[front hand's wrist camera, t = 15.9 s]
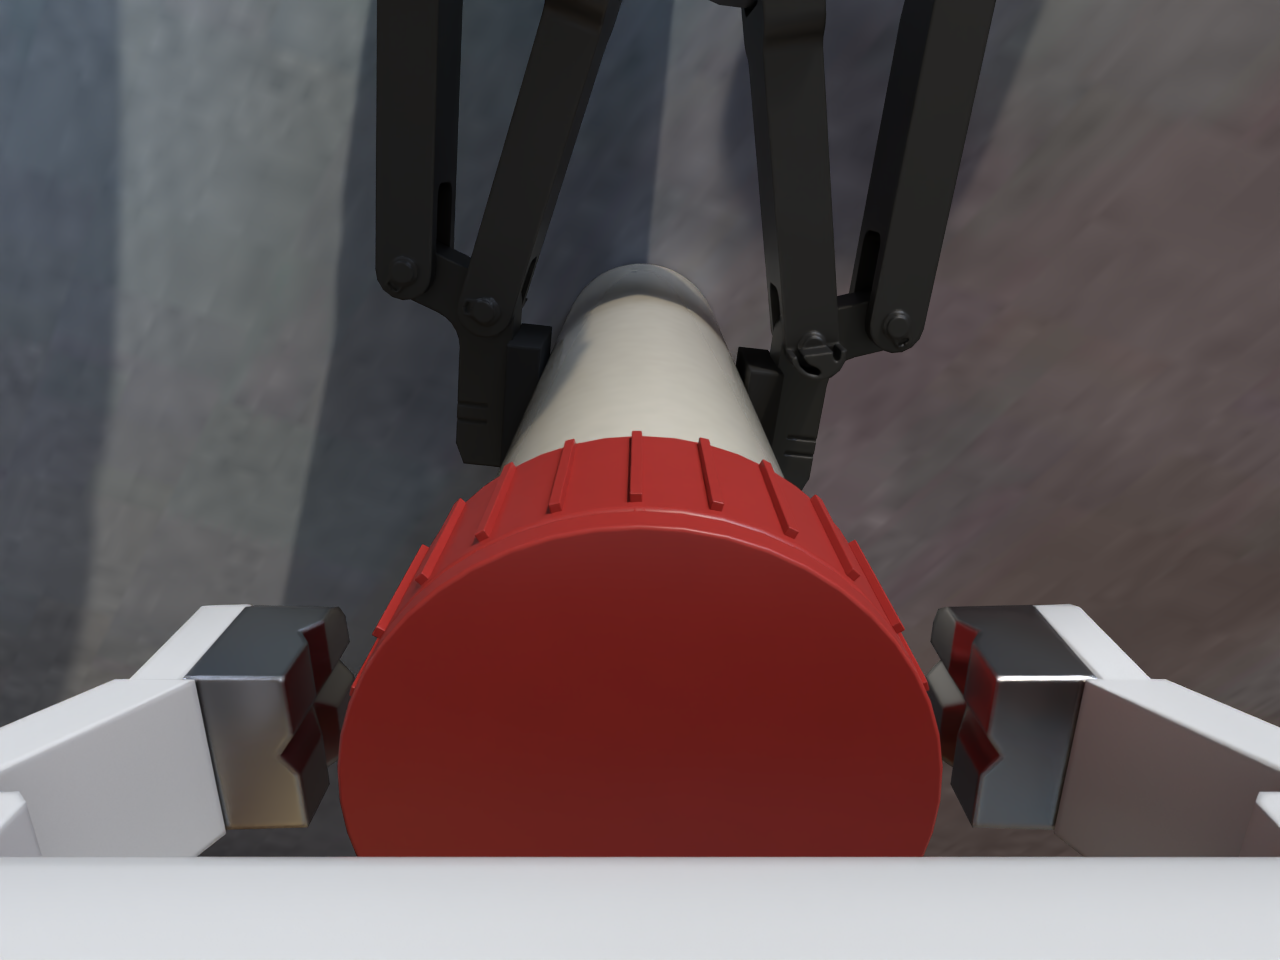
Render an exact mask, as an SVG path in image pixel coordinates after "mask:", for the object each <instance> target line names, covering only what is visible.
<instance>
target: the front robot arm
mask: <svg viewBox="0 0 1280 960" xmlns="http://www.w3.org/2000/svg"><path fill="white" fill-rule="evenodd" d="M349 642H350V640H349V634H348V629H347V623H346V617H345V615H344V613H343V612H342V611H341V609H340V608H339V607H324V606H269V605H254V606H251V605H249V604H237V605H210V606H201V607H200V608H199V609H198V610H197V611H196V612H195V613H194V614H193V615H192V617H191V618H190V619H189V620H188V621H187V622H186V623H185V624H184V625H183V626H182V627H181V628H180V629H179V630H178V631H177V632H176V633H175V634H174V635H173V636H172V637H171V638H170V639H169V640H168V641H167V642H166V643H165V644H164V645H163V646H162V647H161V648H160V649H159V650H158V651H157V652H156V653H155V654H154V655H153V656H152V657H151V658H150V659H149V660H148V661H147V662H146V663H145V664H144V665H143V666H142V667H141V668H140V669H139V670H138V671H137V672H136V673H135V674H134V675H133V676H132V677H131V678H130V679H114V680H112V681H109V682H107V683H105V684H102V685H100V686H98V687H95V688H93V689H90V690H88V691H86V692H83V693H81V694H79V695H76V696H74V697H71V698H69V699H67V700H64V701H62V702H60V703H57V704H55V705H52V706H50V707H48V708H45V709H43V710H41V711H38V712H36V713H34V714H31V715H29V716H26V717H24V718H22V719H19V720H17V721H15V722H12V723H10V724H7V725H5V726H3V727H0V960H1280V727H1277V726H1275V725H1272V724H1270V723H1268V722H1265V721H1263V720H1261V719H1258V718H1256V717H1254V716H1251V715H1249V714H1246V713H1244V712H1242V711H1239V710H1237V709H1235V708H1232V707H1230V706H1227V705H1225V704H1223V703H1220V702H1218V701H1216V700H1213V699H1211V698H1209V697H1206V696H1204V695H1201V694H1199V693H1197V692H1194V691H1192V690H1190V689H1187V688H1185V687H1182V686H1180V685H1178V684H1175V683H1173V682H1171V681H1168V680H1166V679H1150V678H1149V677H1148V676H1147V675H1146V674H1145V673H1144V672H1143V671H1142V670H1141V669H1140V668H1139V667H1138V666H1137V665H1136V664H1135V663H1134V662H1133V661H1132V660H1131V659H1130V658H1129V657H1128V656H1127V655H1126V654H1125V653H1124V652H1123V651H1122V650H1121V649H1120V648H1119V647H1118V646H1117V644H1116V643H1115V642H1114V641H1113V640H1112V639H1111V638H1110V637H1109V636H1108V635H1107V634H1106V633H1105V632H1104V631H1103V630H1102V629H1101V628H1100V627H1099V626H1098V625H1097V624H1096V623H1095V622H1094V621H1093V620H1092V619H1091V618H1090V617H1089V616H1088V615H1087V614H1086V613H1085V612H1084V611H1083V610H1082V609H1081V608H1080V607H1077V606H1074V605H1071V604H1059V605H1037V606H1033V605H1007V606H965V607H945V608H940V609H938V611H937V614H936V616H935V619H934V622H933V627H932V634H931V641H930V642H931V644H932V645H933V647H934V649H935V650H936V652H937V654H938V656H939V657H940V659H941V660H940V661H939V662H938V663H937V664H936V665H935V666H934V667H933V668H932V669H931V670H930V672H929V673H928V674H927V675H926V680H927V682H928V686H929V691H926V692H927V694H928V696H929V699H930V701H931V704H932V708H933V712H934V715H935V719H936V723H937V727H938V731H939V734H940V745H941V756H942V760H943V761H944V762H946V763H947V764H949V765H950V766H952V767H953V770H952V777H951V786H952V788H953V790H954V792H955V794H956V796H957V798H958V800H959V802H960V804H961V806H962V808H963V810H964V812H965V814H966V816H967V818H968V820H969V822H970V824H971V826H972V827H976V828H1013V829H1050V830H1054V834H1055V835H1057V836H1058V837H1059V838H1061V839H1062V840H1063V841H1064V842H1066V843H1067V844H1068V845H1069V846H1071V847H1072V848H1073V849H1075V850H1076V851H1077V852H1078V853H1080V854H1081V855H1082V856H1083V857H197V856H198V855H200V854H201V853H202V852H203V851H205V850H206V849H207V848H209V847H210V846H211V845H212V844H214V843H215V842H216V841H217V840H219V839H220V838H221V837H223V836H224V835H225V834H226V830H230V829H265V828H301V827H308V826H309V824H310V822H311V820H312V818H313V816H314V814H315V812H316V810H317V808H318V806H319V804H320V802H321V800H322V798H323V796H324V794H325V792H326V790H327V788H328V786H329V784H330V783H329V776H328V769H327V767H328V766H330V765H331V764H333V763H334V762H336V761H337V760H338V754H339V743H340V734H341V730H342V726H343V722H344V718H345V714H346V710H347V707H348V703H349V700H350V698H351V696H350V695H349V694H350V689H351V686H352V684H353V682H354V680H355V678H354V675H353V674H352V673H351V671H350V670H349V669H348V668H347V667H346V666H345V665H344V664H343V663H342V662H341V661H340V660H339V659H340V657H341V656H342V654H343V652H344V651H345V649H346V647H347V645H348V644H349Z"/></svg>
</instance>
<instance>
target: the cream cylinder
mask: <svg viewBox="0 0 1280 960" xmlns="http://www.w3.org/2000/svg"><path fill="white" fill-rule="evenodd" d="M632 431H642V436H650V437H666V438H677V439H682V440H687V441H693V442H698V441H699V438H700V437H702V438H706V439H709V441H710V445H711V446H714V447H717V448H720V449H723V450H727V451H730V452H733V453H736V454H739V455H741V456H743V457H745V458H747V459H750V460H752V461H754V462H756V463H758V464H760V462H761V461H762V459H764V460H766V461H768V462H769V463H771V465H772V467H773V470H774V472H775V473H776V474H778V475H779V476H781V477H782V478H784V475H783V473H782V471H781V469H780V466H779V464H778V462H777V459H776V457H775V455H774V453H773V450H772V448H771V446H770V443H769V441H768V439H767V437H766V434H765V432H764V430H763V427H762V425H761V423H760V421H759V418H758V416H757V414H756V411H755V409H754V407H753V405H752V402H751V400H750V398H749V395H748V393H747V391H746V389H745V386H744V384H743V382H742V379H741V377H740V375H739V373H738V370H737V368H736V366H735V363H734V361H733V359H732V357H731V354H730V352H729V350H728V347H727V345H726V343H725V341H724V338H723V336H722V334H721V331H720V329H719V327H718V325H717V322H716V320H715V318H714V315H713V313H712V311H711V309H710V306H709V304H708V303H707V301H706V299H705V298H704V296H703V295H702V294H701V292H700V291H699V290H698V289H697V288H696V287H695V286H694V285H693V284H692V283H691V282H690V281H689V280H687V279H686V278H685V277H683V276H682V275H680V274H678V273H676V272H674V271H672V270H670V269H667V268H664V267H661V266H657V265H652V264H630V265H625V266H620V267H617V268H614V269H611V270H609V271H607V272H605V273H603V274H601V275H600V276H598V277H597V278H595V279H594V280H593V281H592V282H591V283H589V284H588V285H587V286H586V287H585V288H584V289H583V291H582V292H581V293H580V294H579V296H578V297H577V299H576V300H575V302H574V303H573V305H572V308H571V310H570V312H569V314H568V316H567V319H566V321H565V323H564V325H563V328H562V330H561V332H560V334H559V337H558V339H557V341H556V343H555V346H554V348H553V350H552V352H551V355H550V357H549V359H548V361H547V364H546V366H545V368H544V371H543V373H542V375H541V377H540V380H539V382H538V384H537V386H536V389H535V391H534V393H533V395H532V398H531V400H530V402H529V404H528V407H527V409H526V411H525V413H524V416H523V418H522V420H521V423H520V425H519V427H518V429H517V432H516V434H515V436H514V438H513V441H512V443H511V445H510V447H509V450H508V452H507V454H506V456H505V459H504V461H503V463H502V465H501V468H500V470H499V472H498V475H497V477H496V478H498V477H499V476H500V475H501V472H502V470H503V468H504V466H505V465H507V464H509V463H511V462H513V463H514V465H515V466H518V465H520V464H522V463H524V462H526V461H528V460H530V459H533V458H535V457H537V456H539V455H541V454H544V453H547V452H550V451H554V450H557V449H560V448H563V447H564V443H565V441H566V440H570V439H575V442H576V444H577V443H582V442H587V441H593V440H598V439H603V438H614V437H630V436H632ZM784 479H785V478H784Z"/></svg>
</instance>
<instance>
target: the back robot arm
mask: <svg viewBox="0 0 1280 960" xmlns="http://www.w3.org/2000/svg"><path fill="white" fill-rule="evenodd" d="M710 1H712V2H714V3H717V4H719V5H725V6H733V7H741V9H742V21H743V33H744V43H745V50H746V54H747V58H748V63H749V72H750V84H751V96H752V108H753V120H754V132H755V144H756V156H757V168H758V180H759V192H760V204H761V216H762V228H763V240H764V252H765V264H766V276H767V288H768V300H769V312H770V324H771V332H772V335H773V337H772V343H771V350H770V352H769V351H768V350H764V349H754V348H745V347H739V348H738V354H737V361H736V368H737V370H738V373H739V375H740V377H741V379H742V382H743V384H744V386H745V389H746V391H747V393H748V395H749V398H750V400H751V402H752V405H753V407H754V409H755V411H756V414H757V416H758V418H759V421H760V423H761V425H762V427H763V430H764V432H765V434H766V437H767V439H768V441H769V443H770V446H771V448H772V450H773V453H774V455H775V457H776V459H777V462H778V464H779V466H780V469H781V471H782V473H783V475H784V478H785V479H786V480H787V481H789V482H790V483H792V484H793V485H795V486H796V487H797V488H799V489H800V490H801V491H802V489H803V487H804V486H805V484H806V483H807V481H808V480H809V477H810V471H811V466H812V461H813V454H814V450H815V445H816V438H817V434H818V429H819V423H820V418H821V413H822V408H823V402H824V397H825V392H826V386H827V383H828V380H829V378H831V377H832V376H834V375H835V374H836V373H837V372H838V371H840V369H841V368H842V366H843V364H844V362H845V361H846V360H848V359H851V358H854V357H858V356H862V355H866V354H870V353H874V352H879V351H883V350H884V351H887V352H890V353H896V352H903V351H905V350H907V349H909V348H911V347H912V346H913V345H914V344H915V343H916V342H917V341H918V340H919V339H920V336H921V334H922V332H923V329H924V325H925V320H926V316H927V311H928V307H929V302H930V298H931V293H932V289H933V284H934V279H935V275H936V270H937V266H938V261H939V257H940V252H941V248H942V243H943V239H944V234H945V229H946V225H947V220H948V216H949V211H950V207H951V202H952V198H953V193H954V189H955V184H956V179H957V175H958V170H959V166H960V161H961V157H962V152H963V148H964V143H965V138H966V134H967V129H968V125H969V120H970V116H971V111H972V107H973V102H974V98H975V93H976V88H977V84H978V79H979V75H980V70H981V66H982V61H983V57H984V52H985V48H986V43H987V38H988V34H989V29H990V25H991V20H992V16H993V11H994V7H995V2H996V0H905V2H904V6H903V10H902V14H901V19H900V23H899V29H898V34H897V39H896V45H895V50H894V56H893V61H892V66H891V72H890V77H889V82H888V88H887V93H886V98H885V104H884V109H883V114H882V120H881V125H880V130H879V136H878V141H877V146H876V152H875V157H874V162H873V168H872V173H871V178H870V184H869V189H868V194H867V200H866V205H865V210H864V216H863V221H862V226H861V232H860V237H859V243H858V248H857V253H856V259H855V264H854V269H853V275H852V280H851V285H850V291H849V293H848V294H844V295H840V296H837V290H836V272H835V254H834V236H833V218H832V200H831V183H830V165H829V147H828V129H827V111H826V93H825V76H824V58H823V35H824V30H825V22H826V0H710ZM621 2H622V0H545V4H544V9H543V13H542V16H541V20H540V23H539V27H538V30H537V34H536V37H535V40H534V44H533V47H532V51H531V54H530V58H529V61H528V64H527V68H526V71H525V75H524V78H523V82H522V85H521V88H520V92H519V95H518V99H517V102H516V106H515V109H514V112H513V116H512V119H511V123H510V126H509V130H508V133H507V136H506V140H505V143H504V147H503V150H502V154H501V157H500V161H499V164H498V167H497V171H496V174H495V178H494V181H493V185H492V188H491V191H490V195H489V198H488V202H487V205H486V209H485V212H484V215H483V219H482V222H481V226H480V229H479V233H478V236H477V239H476V243H475V246H474V250H473V253H472V257H469V256H467V255H465V254H463V253H461V252H458V251H456V250H454V225H455V198H456V170H457V143H458V116H459V89H460V62H461V34H462V7H463V0H377V108H376V266H375V269H376V275H377V280H378V282H379V283H380V285H381V287H382V288H383V290H384V291H386V292H387V293H388V294H389V295H391V296H392V297H395V298H398V299H401V300H408V299H411V300H413V301H415V302H417V303H419V304H422V305H424V306H426V307H428V308H430V309H432V310H434V311H436V312H438V313H440V314H441V315H443V316H445V317H446V318H447V319H448V320H449V321H450V322H451V323H452V325H453V326H454V328H455V330H456V332H457V334H458V337H459V345H460V353H459V380H458V407H457V433H456V444H457V446H458V449H459V452H460V455H461V457H462V460H463V463H466V464H476V465H486V466H495V467H500V468H501V465H502V463H503V461H504V459H505V456H506V454H507V452H508V450H509V447H510V445H511V443H512V441H513V438H514V436H515V434H516V432H517V429H518V427H519V425H520V423H521V420H522V418H523V416H524V413H525V411H526V409H527V407H528V404H529V402H530V400H531V398H532V395H533V393H534V391H535V389H536V386H537V384H538V382H539V380H540V377H541V375H542V373H543V371H544V368H545V366H546V364H547V361H548V359H549V357H550V347H551V334H552V327H551V326H542V325H533V324H524V323H522V324H521V313H522V308H523V306H524V304H525V303H526V301H527V298H526V296H527V292H528V289H529V286H530V283H531V280H532V277H533V274H534V270H535V267H536V264H537V261H538V258H539V255H540V252H541V248H542V245H543V242H544V239H545V236H546V233H547V229H548V226H549V223H550V220H551V217H552V214H553V211H554V207H555V204H556V201H557V198H558V195H559V192H560V189H561V185H562V182H563V179H564V176H565V173H566V170H567V167H568V163H569V160H570V157H571V154H572V151H573V148H574V145H575V141H576V138H577V135H578V132H579V129H580V126H581V122H582V119H583V116H584V113H585V110H586V107H587V104H588V100H589V97H590V94H591V91H592V88H593V85H594V82H595V78H596V75H597V72H598V69H599V66H600V63H601V60H602V56H603V53H604V50H605V47H606V44H607V42H608V40H609V37H610V35H611V32H612V30H613V27H614V24H615V21H616V18H617V14H618V11H619V8H620V5H621Z"/></svg>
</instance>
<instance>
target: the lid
mask: <svg viewBox="0 0 1280 960" xmlns="http://www.w3.org/2000/svg"><path fill="white" fill-rule="evenodd" d="M904 630H905V628H904V627H903V625H902V623H901V621H900V619H899V618H898V616H897V614H896V612H895V610H894V608H893V607H892V605H891V603H890V601H889V599H888V598H887V596H886V594H885V592H884V590H883V588H882V587H881V585H880V583H879V581H878V579H877V578H876V576H875V574H874V572H873V570H872V568H871V567H870V565H869V563H868V561H867V559H866V558H865V556H864V554H863V552H862V550H861V548H860V547H859V545H858V543H857V542H856V540H854V541H852V542H850V543H848V542H847V540H846V539H845V537H844V536H843V534H842V533H841V531H840V530H839V528H838V527H837V526H836V525H835V524H834V522H833V521H832V519H831V517H830V515H829V513H828V511H827V509H826V507H825V505H824V503H823V501H822V500H821V499H820V498H819V497H818V496H817V495H814V496H813V497H812V498H811V499H810V498H809V497H808V496H807V495H806V494H804V493H803V492H802V491H801V490H800V489H799V488H797V487H796V486H795V485H793V484H792V483H790V482H789V481H787V480H786V479H784V478H782V477H781V476H779V475H778V474H776V473H775V472H774V470H773V467H772V465H771V463H769V462H768V461H766V460H764V459H762V461H761V462H760V464H758V463H756V462H754V461H752V460H750V459H747V458H745V457H743V456H741V455H739V454H736V453H733V452H730V451H727V450H723V449H720V448H717V447H714V446H711V445H710V441H709V439H706V438H702V437H700V438H699V441H698V442H693V441H687V440H682V439H677V438H666V437H650V436H642V431H632V436H630V437H614V438H603V439H598V440H593V441H587V442H582V443H577V444H576V442H575V439H570V440H566V441H565V443H564V447H563V448H560V449H557V450H554V451H550V452H547V453H544V454H541V455H539V456H537V457H535V458H533V459H530V460H528V461H526V462H524V463H522V464H520V465H518V466H515V465H514V463H513V462H511V463H509V464H507V465H505V466H504V468H503V470H502V472H501V475H500V476H499V477H498V478H496V479H495V480H493V481H491V482H490V483H488V484H487V485H485V486H484V487H483V488H481V489H480V490H479V491H478V492H477V493H476V494H475V495H473V496H472V497H471V498H470V499H469V500H468V501H467V502H464V501H463V500H462V499H461V498H460V499H459V500H458V501H457V502H456V503H455V504H454V505H453V507H452V509H451V511H450V513H449V515H448V517H447V519H446V520H445V522H444V524H443V526H442V528H441V530H440V531H439V533H438V534H437V536H436V538H435V539H434V541H433V542H432V544H431V545H430V547H427V546H425V545H423V544H422V545H421V547H420V549H419V550H418V552H417V554H416V556H415V558H414V559H413V561H412V563H411V565H410V567H409V568H408V570H407V572H406V574H405V576H404V577H403V579H402V581H401V583H400V585H399V586H398V588H397V590H396V592H395V594H394V595H393V597H392V599H391V601H390V603H389V604H388V606H387V608H386V610H385V612H384V613H383V615H382V617H381V619H380V621H379V622H378V624H377V626H376V628H375V630H374V631H373V633H372V635H373V636H375V637H377V640H376V642H375V643H374V645H373V647H372V649H371V651H370V653H369V655H368V656H367V658H366V660H365V662H364V664H363V666H362V668H361V669H360V671H359V673H358V675H357V677H356V679H355V680H354V682H353V684H352V686H351V689H350V694H349V695H350V696H351V698H350V700H349V703H348V707H347V710H346V714H345V718H344V722H343V726H342V730H341V734H340V743H339V754H338V765H337V770H338V783H339V797H340V804H341V808H342V812H343V816H344V821H345V825H346V829H347V833H348V835H349V838H350V840H351V843H352V845H353V848H354V850H355V853H356V855H357V857H923V856H924V853H925V851H926V848H927V846H928V843H929V841H930V838H931V836H932V833H933V829H934V825H935V821H936V816H937V812H938V808H939V803H940V796H941V782H942V768H943V766H942V756H941V745H940V734H939V731H938V727H937V723H936V719H935V715H934V712H933V708H932V704H931V701H930V699H929V696H928V694H927V692H926V691H929V686H928V682H927V680H926V678H925V676H924V674H923V673H922V671H921V669H920V667H919V665H918V663H917V661H916V659H915V658H914V656H913V654H912V652H911V650H910V648H909V646H908V645H907V643H906V641H905V639H904V637H903V635H902V633H901V632H902V631H904Z"/></svg>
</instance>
